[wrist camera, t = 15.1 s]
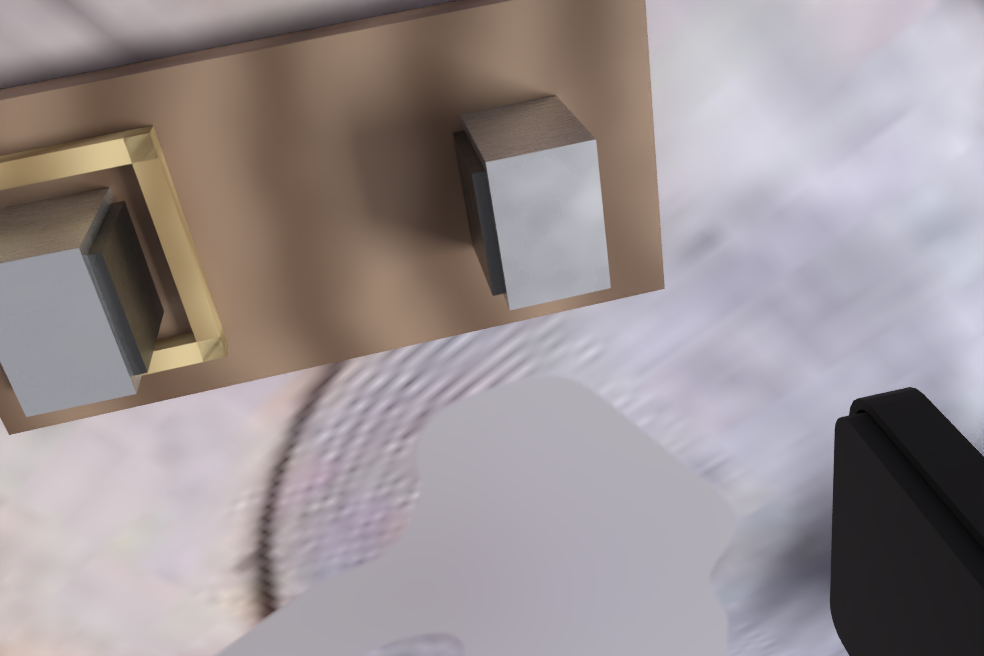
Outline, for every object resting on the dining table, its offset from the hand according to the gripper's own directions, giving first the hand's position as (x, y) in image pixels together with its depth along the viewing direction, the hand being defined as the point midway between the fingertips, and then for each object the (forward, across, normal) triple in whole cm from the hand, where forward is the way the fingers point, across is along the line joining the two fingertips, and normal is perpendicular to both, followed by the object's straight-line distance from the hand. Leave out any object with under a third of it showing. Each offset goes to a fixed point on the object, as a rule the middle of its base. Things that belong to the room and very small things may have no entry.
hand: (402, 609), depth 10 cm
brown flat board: (+32, +4, +8) cm, 33 cm away
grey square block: (+30, -5, +8) cm, 32 cm away
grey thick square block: (+30, +13, +8) cm, 33 cm away
